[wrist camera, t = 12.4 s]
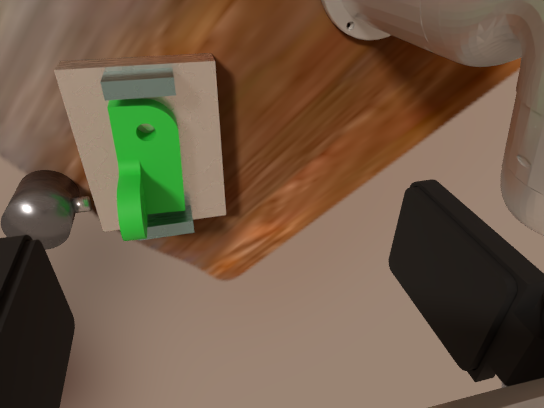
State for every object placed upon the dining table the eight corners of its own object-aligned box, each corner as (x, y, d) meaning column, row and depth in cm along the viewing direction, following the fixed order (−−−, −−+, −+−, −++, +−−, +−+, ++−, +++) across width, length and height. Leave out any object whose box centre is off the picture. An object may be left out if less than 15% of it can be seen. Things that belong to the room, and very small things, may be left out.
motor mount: (211, 53, 39) (219, 69, 34) (222, 201, 49) (230, 230, 45) (-38, 66, 35) (-68, 87, 30) (32, 226, 45) (17, 261, 40)
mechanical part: (184, 200, 44) (189, 245, 38) (128, 205, 43) (124, 253, 37) (175, 97, 38) (180, 130, 31) (109, 99, 36) (100, 134, 30)
